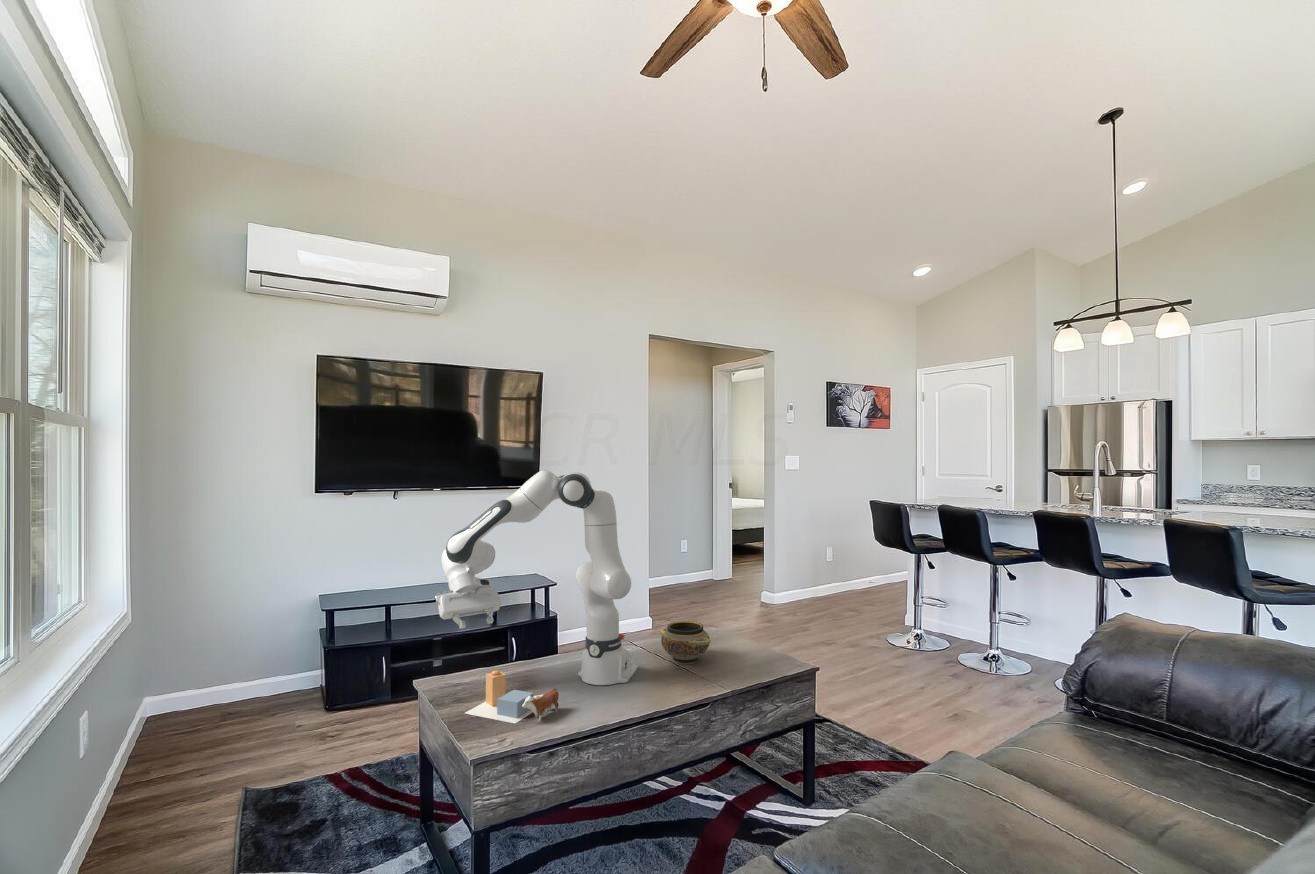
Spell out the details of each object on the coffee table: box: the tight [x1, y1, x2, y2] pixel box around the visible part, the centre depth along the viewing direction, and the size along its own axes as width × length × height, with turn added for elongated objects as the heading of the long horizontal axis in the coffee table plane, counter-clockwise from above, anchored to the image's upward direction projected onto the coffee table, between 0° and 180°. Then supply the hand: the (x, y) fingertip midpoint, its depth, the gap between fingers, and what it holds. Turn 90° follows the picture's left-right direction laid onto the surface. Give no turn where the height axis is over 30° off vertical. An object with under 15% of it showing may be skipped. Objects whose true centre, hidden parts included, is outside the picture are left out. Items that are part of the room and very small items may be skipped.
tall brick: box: [485, 669, 507, 707], centre depth 195 cm, size 4×4×9 cm
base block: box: [497, 689, 534, 718], centre depth 188 cm, size 8×7×4 cm
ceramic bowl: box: [659, 620, 712, 665], centre depth 237 cm, size 24×18×15 cm
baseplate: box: [464, 700, 533, 724], centre depth 191 cm, size 17×18×1 cm
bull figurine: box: [522, 688, 559, 721], centre depth 185 cm, size 4×13×8 cm, turn 146°
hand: (477, 624), depth 204 cm, fingers open, 8 cm apart
